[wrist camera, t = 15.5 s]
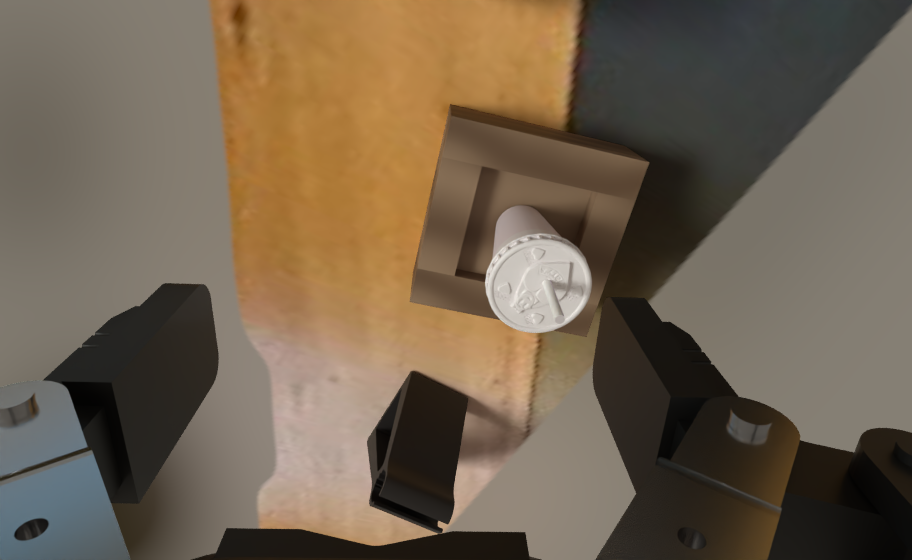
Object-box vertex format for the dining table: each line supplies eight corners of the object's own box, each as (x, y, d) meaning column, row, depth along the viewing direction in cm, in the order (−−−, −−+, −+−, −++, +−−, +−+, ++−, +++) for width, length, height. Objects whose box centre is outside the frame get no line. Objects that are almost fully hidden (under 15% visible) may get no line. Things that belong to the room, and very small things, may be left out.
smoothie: (580, 228, 44) (636, 325, 32) (517, 283, 46) (546, 395, 34) (523, 169, 42) (558, 248, 29) (459, 229, 44) (466, 327, 31)
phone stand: (412, 369, 54) (404, 458, 43) (468, 396, 55) (475, 489, 44) (367, 439, 57) (349, 538, 46) (421, 463, 58) (417, 565, 47)
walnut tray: (449, 103, 45) (451, 115, 39) (622, 144, 47) (649, 162, 41) (413, 269, 51) (409, 302, 45) (569, 301, 52) (586, 336, 46)
